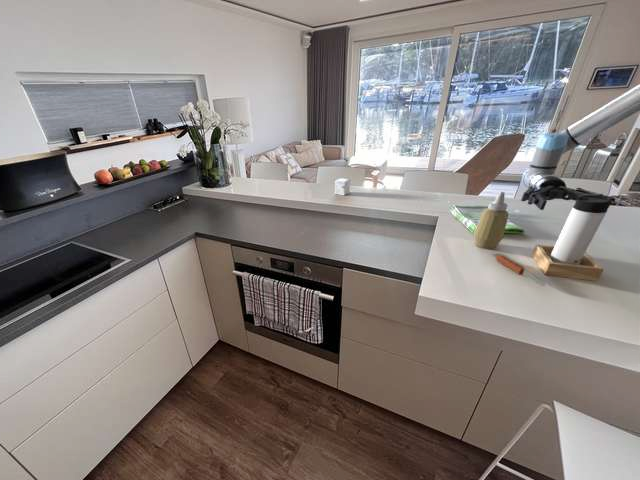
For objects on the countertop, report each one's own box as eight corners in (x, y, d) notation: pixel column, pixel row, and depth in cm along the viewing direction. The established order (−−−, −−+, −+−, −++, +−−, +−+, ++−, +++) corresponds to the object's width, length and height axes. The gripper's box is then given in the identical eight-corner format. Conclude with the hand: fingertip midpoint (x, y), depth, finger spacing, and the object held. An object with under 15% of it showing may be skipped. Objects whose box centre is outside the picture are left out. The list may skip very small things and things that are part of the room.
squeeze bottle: (494, 240, 98) (512, 188, 89) (503, 251, 92) (523, 196, 82) (468, 239, 100) (482, 188, 91) (474, 249, 94) (491, 196, 85)
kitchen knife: (494, 260, 87) (496, 254, 86) (498, 259, 88) (500, 254, 87) (541, 289, 74) (544, 282, 73) (545, 288, 74) (549, 282, 73)
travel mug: (580, 272, 78) (619, 201, 68) (549, 267, 81) (581, 198, 71) (575, 262, 82) (611, 194, 72) (545, 257, 85) (576, 191, 75)
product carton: (334, 194, 157) (334, 180, 153) (340, 191, 161) (340, 177, 157) (344, 195, 153) (345, 181, 150) (349, 192, 157) (350, 179, 154)
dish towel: (491, 211, 120) (494, 203, 119) (525, 234, 101) (529, 224, 99) (448, 212, 123) (450, 204, 121) (472, 234, 103) (475, 225, 101)
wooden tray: (531, 254, 89) (535, 244, 87) (577, 259, 85) (583, 248, 83) (544, 274, 79) (549, 263, 77) (597, 281, 75) (603, 269, 73)
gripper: (589, 199, 96) (625, 222, 79) (500, 195, 105) (515, 216, 88) (600, 176, 92) (640, 196, 75) (507, 175, 101) (524, 192, 84)
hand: (573, 206), depth 82 cm, fingers open, 13 cm apart
